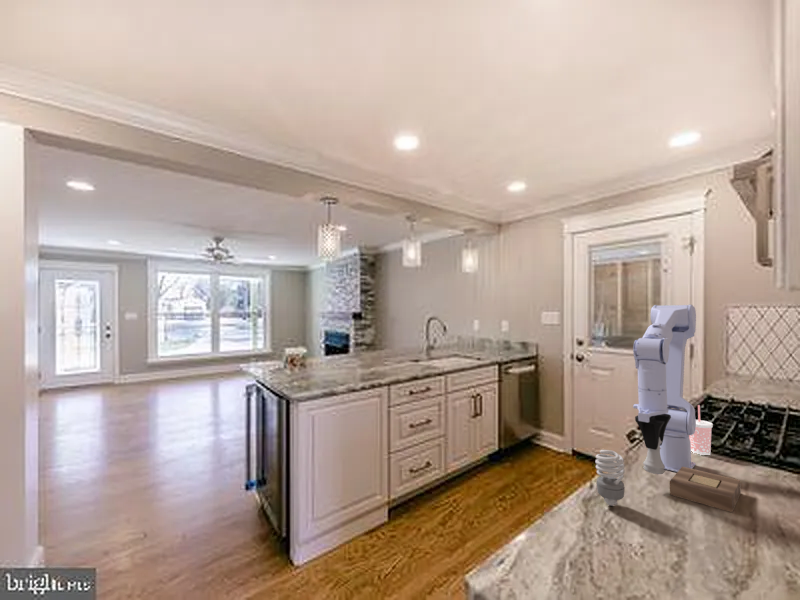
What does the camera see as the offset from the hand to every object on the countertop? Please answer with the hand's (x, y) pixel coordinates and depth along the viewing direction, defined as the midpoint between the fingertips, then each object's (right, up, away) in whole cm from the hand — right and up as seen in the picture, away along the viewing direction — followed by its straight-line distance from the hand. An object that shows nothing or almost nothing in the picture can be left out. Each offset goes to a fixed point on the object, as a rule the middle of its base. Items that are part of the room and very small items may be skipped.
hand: (653, 446), depth 92 cm
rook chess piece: (0, -6, 0) cm, 6 cm away
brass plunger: (+10, -8, -3) cm, 13 cm away
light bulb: (-14, -10, -7) cm, 19 cm away
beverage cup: (+28, -11, +22) cm, 37 cm away
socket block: (+10, -10, -3) cm, 14 cm away
